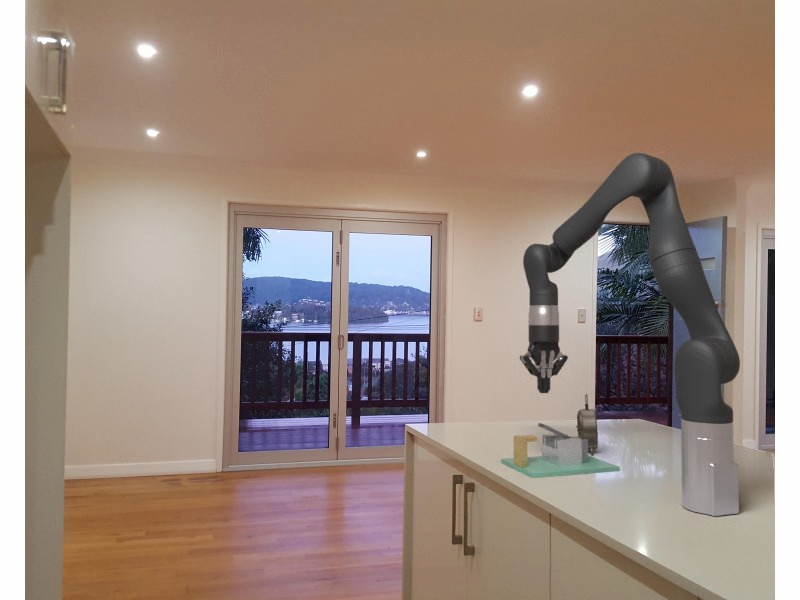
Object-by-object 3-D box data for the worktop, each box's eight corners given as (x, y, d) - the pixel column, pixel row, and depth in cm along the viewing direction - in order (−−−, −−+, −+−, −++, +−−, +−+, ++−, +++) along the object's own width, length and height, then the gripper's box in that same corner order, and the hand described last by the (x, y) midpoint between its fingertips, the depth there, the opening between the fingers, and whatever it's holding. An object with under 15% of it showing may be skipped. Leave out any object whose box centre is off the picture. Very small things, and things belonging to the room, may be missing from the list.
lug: (538, 466, 152) (538, 437, 152) (521, 467, 150) (521, 438, 151) (530, 462, 156) (530, 434, 156) (513, 463, 154) (513, 435, 154)
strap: (583, 447, 156) (585, 443, 156) (544, 428, 153) (545, 424, 153) (576, 444, 159) (578, 441, 160) (537, 426, 156) (539, 422, 156)
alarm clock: (599, 456, 167) (598, 396, 168) (578, 455, 168) (577, 395, 169) (594, 448, 178) (594, 391, 179) (575, 447, 179) (575, 391, 180)
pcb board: (619, 470, 152) (619, 466, 152) (532, 477, 145) (532, 473, 145) (581, 456, 167) (581, 453, 167) (501, 462, 160) (501, 458, 160)
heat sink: (592, 464, 154) (592, 438, 154) (558, 466, 151) (558, 440, 151) (573, 457, 162) (573, 432, 162) (541, 459, 159) (541, 434, 159)
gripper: (527, 323, 150) (527, 395, 150) (575, 323, 154) (575, 393, 154) (513, 323, 157) (513, 392, 157) (558, 323, 161) (558, 390, 161)
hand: (543, 392), depth 155 cm, fingers closed
